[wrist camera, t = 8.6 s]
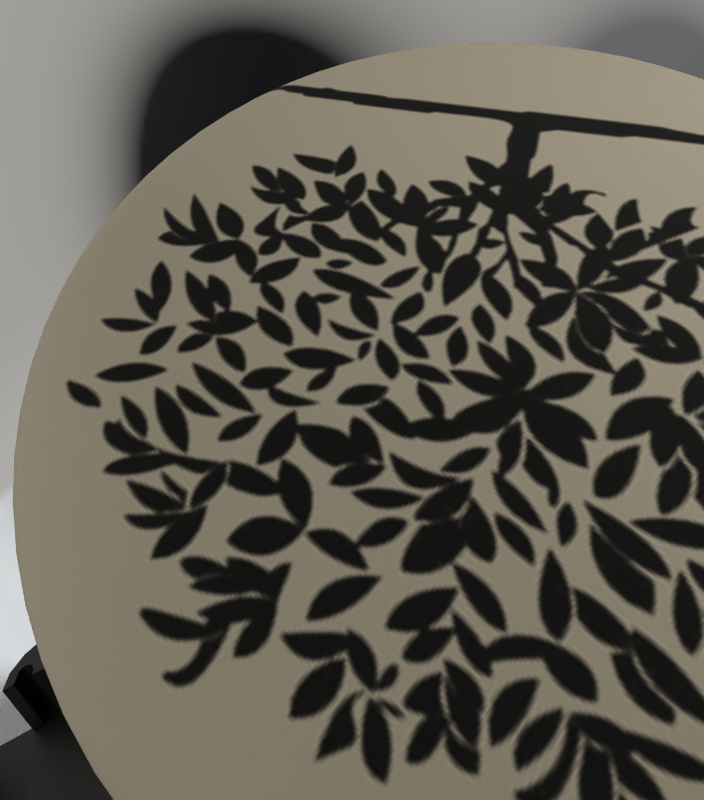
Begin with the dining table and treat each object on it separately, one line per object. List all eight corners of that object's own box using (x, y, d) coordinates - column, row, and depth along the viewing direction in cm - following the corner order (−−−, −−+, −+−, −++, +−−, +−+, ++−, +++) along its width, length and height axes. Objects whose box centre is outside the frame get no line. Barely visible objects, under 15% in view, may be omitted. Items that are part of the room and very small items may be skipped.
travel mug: (458, 681, 18) (1539, 2086, 1) (283, 592, 19) (-302, 639, 3) (516, 497, 20) (1102, 111, 4) (357, 432, 22) (276, -31, 5)
